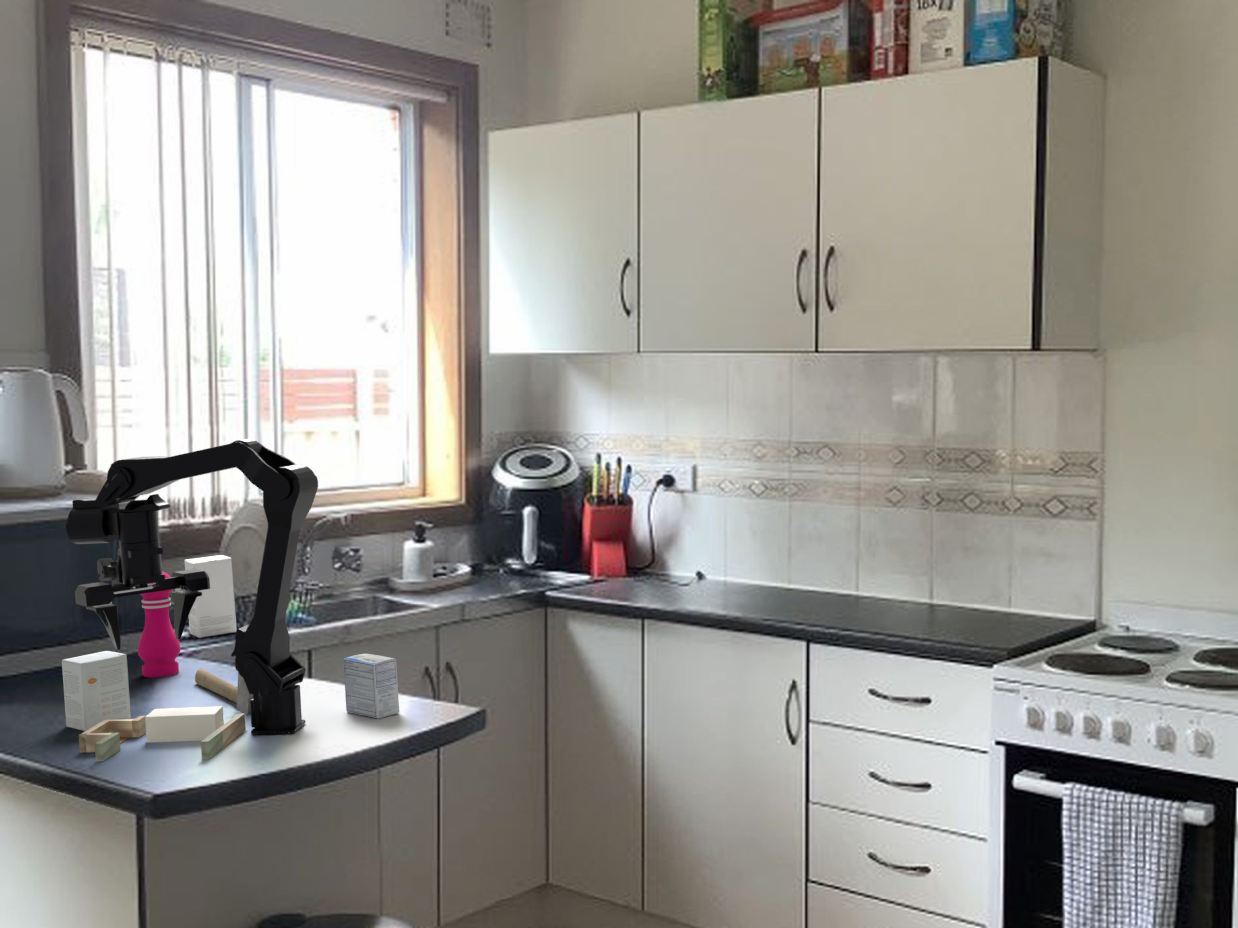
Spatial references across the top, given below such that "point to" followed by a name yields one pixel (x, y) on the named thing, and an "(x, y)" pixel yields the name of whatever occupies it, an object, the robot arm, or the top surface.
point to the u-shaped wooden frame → (115, 731)
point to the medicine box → (371, 685)
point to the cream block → (183, 723)
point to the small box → (95, 689)
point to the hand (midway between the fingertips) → (148, 644)
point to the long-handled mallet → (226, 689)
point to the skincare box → (213, 598)
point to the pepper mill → (158, 636)
